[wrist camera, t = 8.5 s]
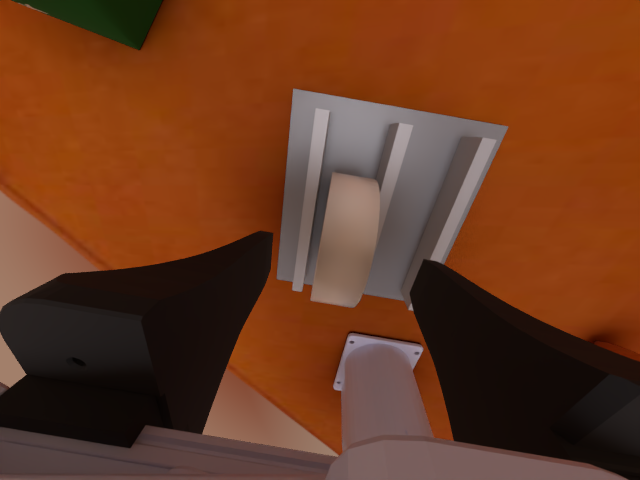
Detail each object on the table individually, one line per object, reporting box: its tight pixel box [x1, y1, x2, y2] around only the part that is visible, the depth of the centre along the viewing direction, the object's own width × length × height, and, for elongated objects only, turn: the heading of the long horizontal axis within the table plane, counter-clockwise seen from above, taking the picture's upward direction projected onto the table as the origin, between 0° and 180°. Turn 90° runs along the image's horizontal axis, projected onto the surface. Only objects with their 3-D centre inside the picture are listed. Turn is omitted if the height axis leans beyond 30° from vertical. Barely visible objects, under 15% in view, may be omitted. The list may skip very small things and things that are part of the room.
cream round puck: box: [310, 172, 380, 308], centre depth 14 cm, size 8×2×8 cm, turn 171°
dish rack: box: [277, 89, 508, 311], centre depth 17 cm, size 15×14×3 cm
